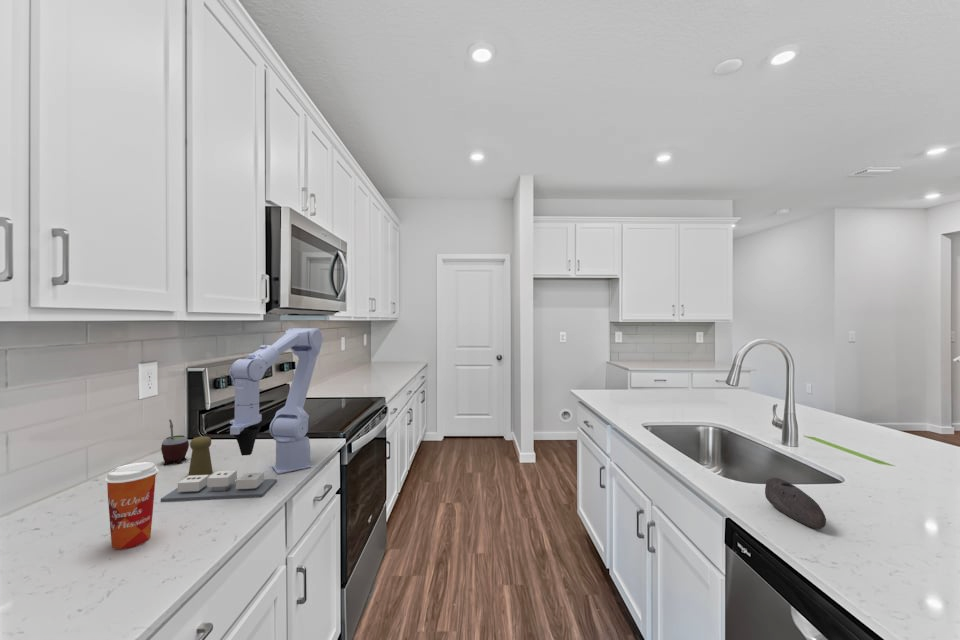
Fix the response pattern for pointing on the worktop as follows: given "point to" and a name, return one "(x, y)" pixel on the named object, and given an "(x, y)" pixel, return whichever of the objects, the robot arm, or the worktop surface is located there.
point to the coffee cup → (131, 503)
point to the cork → (200, 456)
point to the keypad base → (220, 492)
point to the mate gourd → (174, 448)
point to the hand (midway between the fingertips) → (246, 454)
